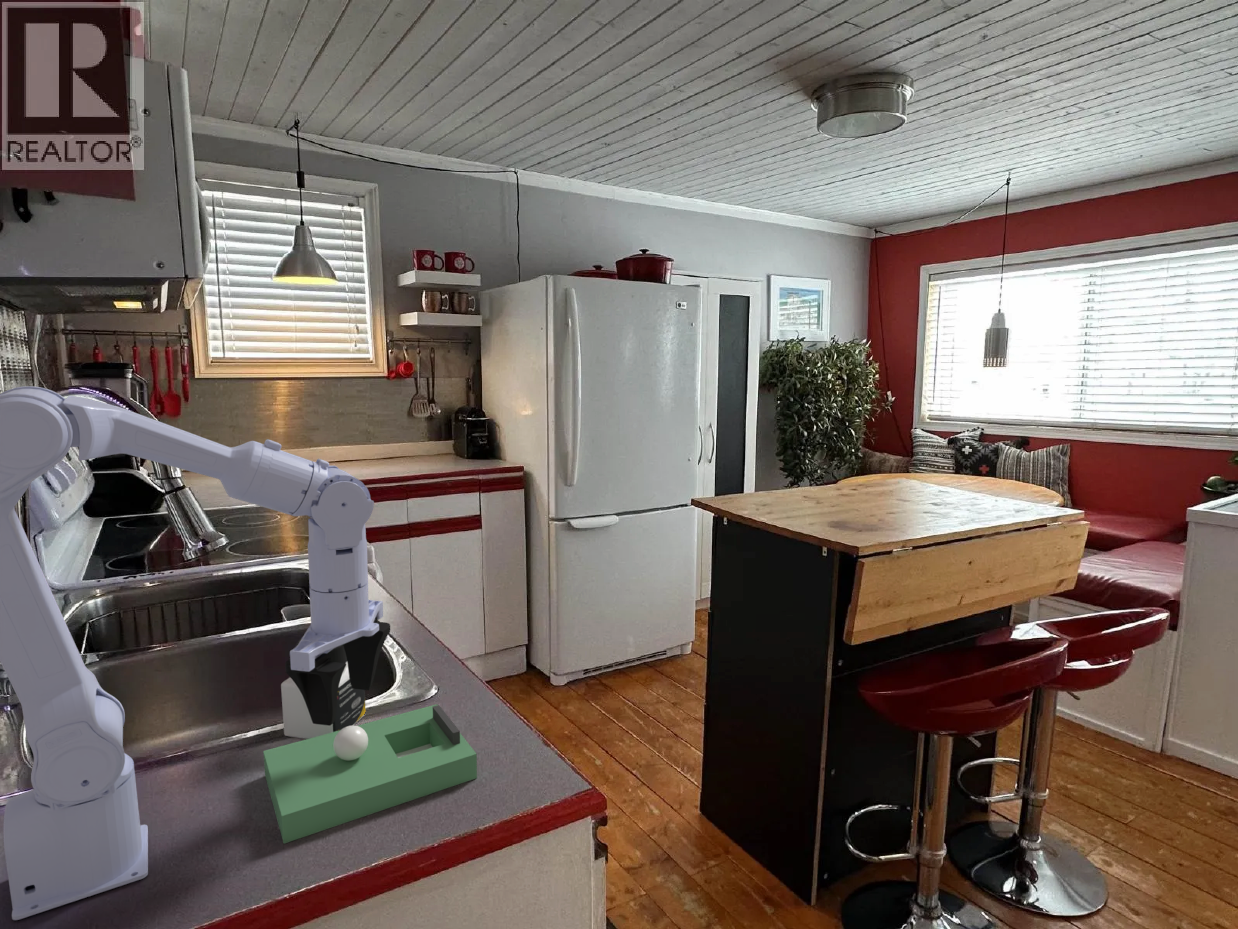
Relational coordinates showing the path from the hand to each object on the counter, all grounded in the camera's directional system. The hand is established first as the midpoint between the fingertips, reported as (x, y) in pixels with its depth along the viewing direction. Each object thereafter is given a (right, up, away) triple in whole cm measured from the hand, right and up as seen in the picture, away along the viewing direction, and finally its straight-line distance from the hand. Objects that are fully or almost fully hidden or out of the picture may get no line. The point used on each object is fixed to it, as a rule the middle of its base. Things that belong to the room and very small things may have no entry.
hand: (343, 704), depth 76 cm
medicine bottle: (-8, -8, +14) cm, 18 cm away
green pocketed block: (+2, -9, +4) cm, 10 cm away
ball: (0, -5, +2) cm, 5 cm away
